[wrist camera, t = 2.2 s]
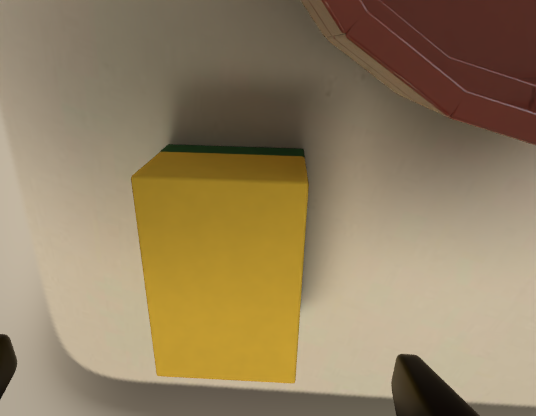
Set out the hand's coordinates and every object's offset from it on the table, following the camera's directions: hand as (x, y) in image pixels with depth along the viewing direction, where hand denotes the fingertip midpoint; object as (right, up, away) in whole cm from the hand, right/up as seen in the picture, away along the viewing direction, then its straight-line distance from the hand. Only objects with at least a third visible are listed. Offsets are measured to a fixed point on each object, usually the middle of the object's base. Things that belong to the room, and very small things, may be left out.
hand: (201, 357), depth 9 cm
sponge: (0, +2, +5) cm, 6 cm away
